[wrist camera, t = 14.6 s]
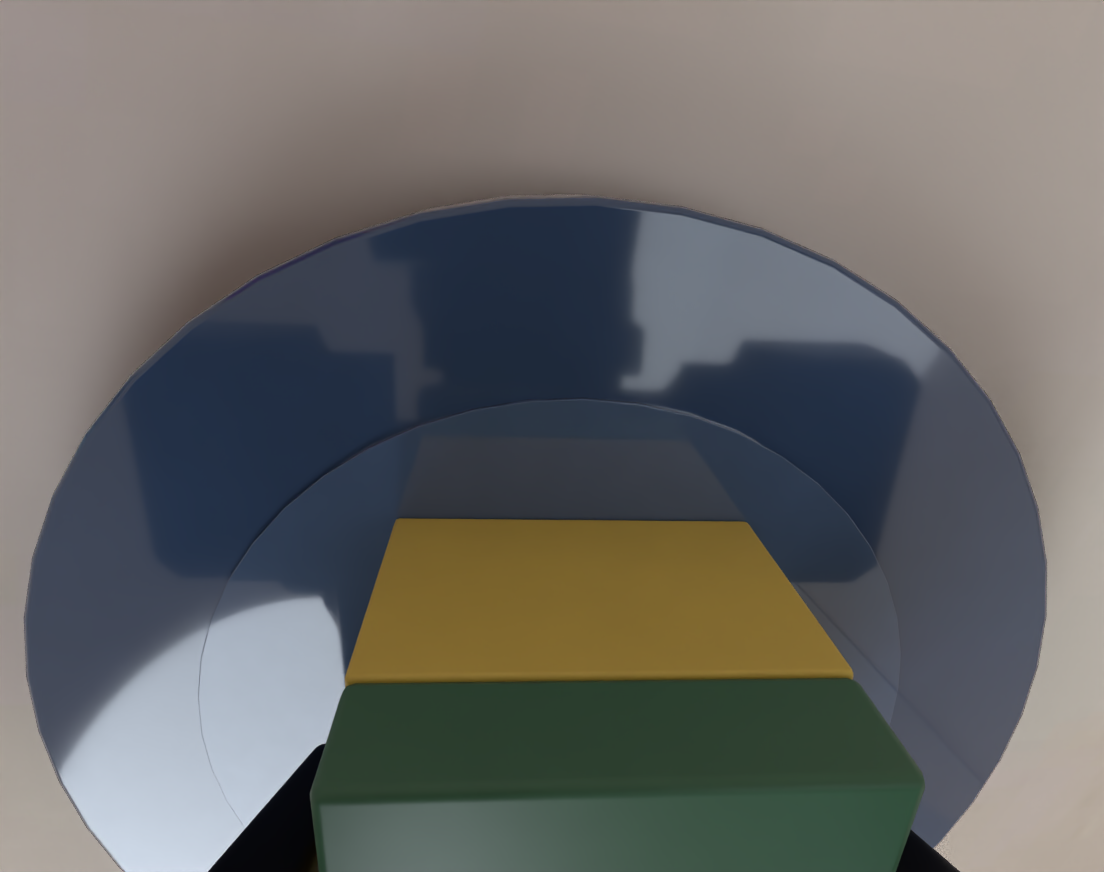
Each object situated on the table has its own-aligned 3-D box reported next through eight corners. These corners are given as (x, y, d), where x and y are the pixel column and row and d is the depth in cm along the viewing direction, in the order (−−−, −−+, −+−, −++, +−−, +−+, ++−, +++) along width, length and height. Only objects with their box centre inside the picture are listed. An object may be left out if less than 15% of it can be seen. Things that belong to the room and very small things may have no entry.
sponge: (683, 875, 10) (776, 1229, 6) (411, 885, 9) (361, 1263, 6) (747, 519, 7) (936, 780, 4) (395, 516, 7) (304, 795, 4)
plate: (873, 929, 12) (911, 1007, 11) (169, 960, 11) (131, 1050, 10) (1120, 221, 8) (1230, 228, 7) (-39, 162, 7) (-155, 158, 6)
